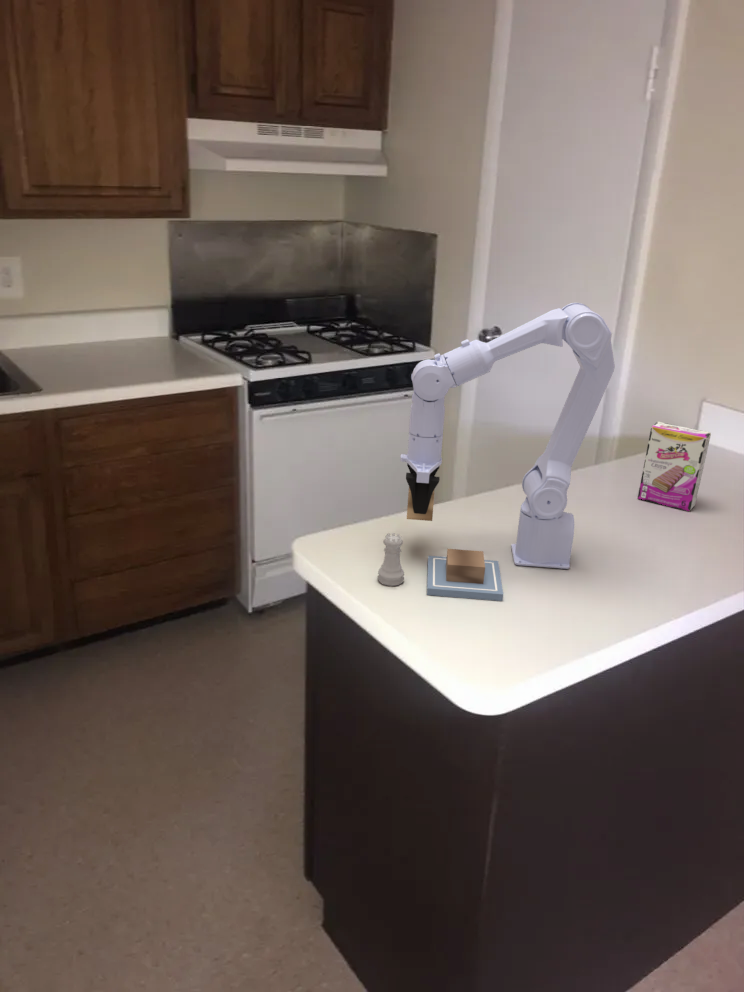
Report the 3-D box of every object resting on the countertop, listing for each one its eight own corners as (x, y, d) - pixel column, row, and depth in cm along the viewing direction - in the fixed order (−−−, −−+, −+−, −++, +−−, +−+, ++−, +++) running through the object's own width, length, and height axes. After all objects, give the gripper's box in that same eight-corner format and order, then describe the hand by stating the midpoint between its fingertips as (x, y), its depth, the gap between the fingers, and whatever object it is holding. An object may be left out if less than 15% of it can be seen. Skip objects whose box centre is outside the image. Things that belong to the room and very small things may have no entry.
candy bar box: (636, 500, 175) (649, 425, 169) (642, 493, 179) (656, 420, 173) (690, 513, 170) (706, 437, 164) (696, 505, 174) (711, 431, 168)
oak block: (432, 511, 146) (434, 484, 144) (432, 520, 142) (434, 493, 140) (407, 509, 146) (409, 482, 144) (406, 519, 142) (408, 492, 140)
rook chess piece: (401, 588, 133) (405, 543, 130) (374, 584, 134) (377, 540, 131) (406, 576, 137) (409, 532, 135) (380, 572, 138) (382, 529, 135)
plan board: (497, 567, 142) (500, 545, 141) (502, 601, 131) (505, 577, 130) (427, 561, 143) (429, 539, 141) (426, 595, 132) (428, 571, 130)
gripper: (403, 418, 145) (399, 490, 151) (400, 444, 132) (395, 522, 137) (443, 421, 145) (437, 493, 150) (444, 447, 132) (437, 525, 137)
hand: (420, 507), depth 144 cm, fingers closed on oak block, 4 cm apart
